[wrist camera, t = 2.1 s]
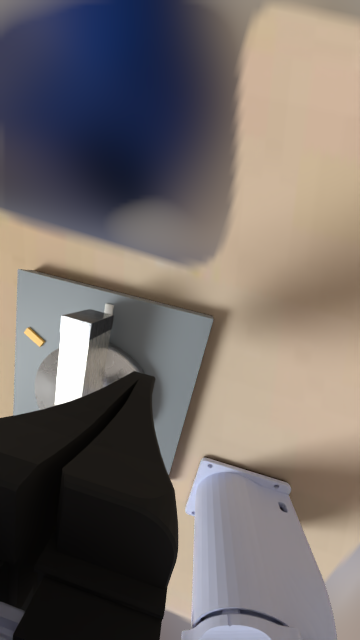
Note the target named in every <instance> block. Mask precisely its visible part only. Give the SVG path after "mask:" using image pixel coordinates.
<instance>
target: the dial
mask: <svg viewBox="0 0 360 640" xmlns="http://www.w3.org/2000/svg"><path fill="white" fill-rule="evenodd" d="M113 318H114V315H111V314H107V313H104V312H100V311H96V310H92V309H87V310H83V311H79V312H74V313H70V314H66V315H61V326H60V333H61V340H60V348H58V349H56V350H55V351H53V352H52V353H50V354H49V355H48V356H47V357H46V358H45V359H44V360H43V362H42V363H41V365H40V367H39V369H38V371H37V374H36V378H35V397H36V401H37V404H38V407H39V409H40V410H42V409H46V408H49V407H52V406H56V405H59V404H63V403H66V402H69V401H72V400H75V399H78V398H80V397H83V396H86V395H88V394H90V393H93V392H95V391H97V390H99V389H101V388H103V387H106V386H108V385H110V384H111V383H113V382H115V381H117V380H119V379H121V378H122V377H124V376H126V375H128V374H130V373H131V372H133V371H136V372H140V373H143V374H144V372H143V370H142V369H141V367H140V366H139V365H138V363H137V362H136V361H135V360H134V359H133V358H132V357H131V356H130V355H129V354H128V353H126V352H125V351H123V350H122V349H120V348H119V347H117V346H115V345H113V344H110V343H109V338H110V332H111V329H112V325H113Z"/></svg>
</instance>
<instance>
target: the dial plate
mask: <svg viewBox="0 0 360 640" xmlns="http://www.w3.org/2000/svg"><path fill="white" fill-rule="evenodd" d="M87 309H92V310H96V311H100V312H104V313H107V314H111V315H114V318H113V325H112V329H111V332H110V338H109V343H110V344H113V345H115V346H117V347H119V348H120V349H122V350H123V351H125V352H126V353H128V354H129V355H130V356H131V357H132V358H133V359H134V360H135V361H136V362H137V363H138V365H139V366H140V367H141V369H142V370H143V372H144V374H147V375H150V376H154V377H155V379H156V380H155V384H154V389H153V393H152V411H153V421H154V427H155V432H156V437H157V441H158V445H159V448H160V452H161V455H162V458H163V461H164V464H165V467H166V470H167V473H168V475H169V473H170V470H171V466H172V463H173V459H174V456H175V452H176V449H177V445H178V442H179V438H180V435H181V431H182V428H183V424H184V421H185V417H186V414H187V410H188V407H189V403H190V400H191V396H192V393H193V389H194V386H195V382H196V379H197V375H198V372H199V368H200V365H201V361H202V358H203V354H204V351H205V347H206V344H207V340H208V337H209V333H210V330H211V326H212V323H213V316H211V315H207V314H203V313H199V312H195V311H191V310H187V309H183V308H179V307H175V306H171V305H167V304H163V303H159V302H156V301H152V300H148V299H144V298H140V297H136V296H132V295H128V294H124V293H120V292H116V291H112V290H108V289H104V288H100V287H97V286H93V285H89V284H85V283H81V282H77V281H73V280H69V279H65V278H61V277H57V276H53V275H49V274H45V273H42V272H38V271H34V270H22V269H18V283H17V315H16V347H15V379H14V411H13V416H15V415H20V414H24V413H29V412H33V411H37V410H40V409H39V407H38V404H37V401H36V397H35V378H36V374H37V371H38V369H39V367H40V365H41V363H42V362H43V360H44V359H45V358H46V357H47V356H48V355H49V354H50V353H52V352H53V351H55V350H56V349H58V348H60V340H61V333H60V326H61V315H66V314H70V313H74V312H79V311H83V310H87Z"/></svg>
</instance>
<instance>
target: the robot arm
mask: <svg viewBox="0 0 360 640" xmlns="http://www.w3.org/2000/svg"><path fill="white" fill-rule="evenodd" d="M155 380H156V379H155V377H154V376H150V375H147V374H143V373H140V372H136V371H133V372H131V373H130V374H128V375H126V376H124V377H122V378H121V379H119V380H117V381H115V382H113V383H111V384H110V385H108V386H106V387H103V388H101V389H99V390H97V391H95V392H93V393H90V394H88V395H86V396H83V397H80V398H78V399H75V400H72V401H69V402H66V403H63V404H59V405H56V406H52V407H49V408H46V409H42V410H37V411H33V412H29V413H24V414H20V415H15V416H9V417H4V418H0V640H159V639H160V630H161V622H162V619H163V616H164V611H165V603H166V594H167V586H168V583H169V580H170V577H171V574H172V571H173V569H174V566H175V563H176V559H177V553H178V519H177V508H176V499H175V491H174V488H173V485H172V483H171V480H170V478H169V475H168V473H167V470H166V467H165V464H164V461H163V458H162V455H161V452H160V448H159V445H158V441H157V437H156V432H155V427H154V421H153V411H152V393H153V389H154V384H155ZM290 492H291V487H290V485H289V484H288V483H287V482H283V481H280V480H277V479H274V478H270V477H267V476H264V475H261V474H258V473H254V472H251V471H248V470H245V469H241V468H238V467H235V466H232V465H228V464H225V463H222V462H219V461H215V460H212V459H209V458H202V459H201V462H200V465H199V468H198V471H197V474H196V477H195V480H194V483H193V486H192V489H191V492H190V495H189V498H188V501H187V504H186V509H185V511H186V513H187V514H189V515H192V516H195V525H194V556H193V587H192V618H191V629H189V630H184V631H182V639H181V640H337V634H336V628H335V622H334V617H333V612H332V607H331V603H330V600H329V596H328V593H327V590H326V587H325V583H324V581H323V578H322V575H321V573H320V570H319V568H318V565H317V563H316V561H315V558H314V556H313V553H312V551H311V548H310V546H309V543H308V541H307V539H306V536H305V534H304V531H303V529H302V526H301V524H300V521H299V519H298V516H297V514H296V512H295V509H294V507H293V504H292V502H291V499H290V497H289V494H290Z"/></svg>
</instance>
